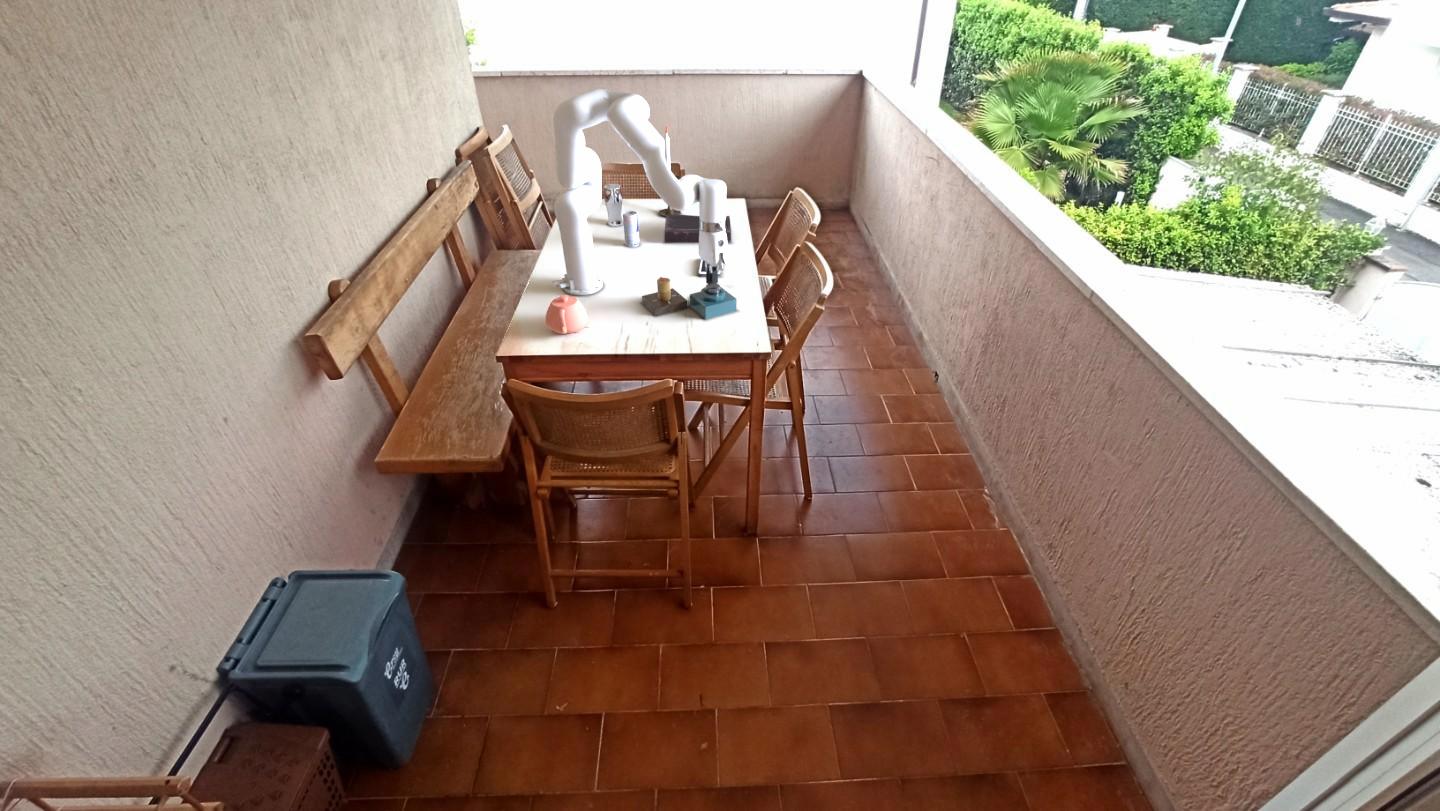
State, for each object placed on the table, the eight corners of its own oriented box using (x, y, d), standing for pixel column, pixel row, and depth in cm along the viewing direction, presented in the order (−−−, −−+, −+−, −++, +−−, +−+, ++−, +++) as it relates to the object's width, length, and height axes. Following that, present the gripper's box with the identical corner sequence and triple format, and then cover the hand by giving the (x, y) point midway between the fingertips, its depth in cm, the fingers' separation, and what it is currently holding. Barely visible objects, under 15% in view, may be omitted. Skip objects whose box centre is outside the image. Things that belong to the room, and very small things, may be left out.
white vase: (604, 222, 260) (600, 184, 251) (621, 219, 262) (617, 182, 253) (609, 228, 255) (606, 190, 246) (626, 225, 257) (623, 187, 248)
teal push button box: (705, 319, 195) (705, 301, 191) (689, 306, 202) (689, 288, 198) (736, 311, 199) (736, 293, 196) (719, 298, 206) (720, 281, 202)
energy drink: (640, 242, 243) (638, 211, 236) (638, 247, 239) (635, 216, 232) (627, 241, 244) (624, 210, 237) (623, 247, 239) (621, 215, 232)
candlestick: (672, 207, 274) (669, 120, 253) (688, 214, 267) (685, 125, 246) (651, 213, 268) (646, 124, 248) (666, 220, 261) (662, 129, 241)
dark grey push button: (710, 296, 195) (710, 290, 193) (703, 291, 198) (703, 285, 196) (722, 293, 196) (722, 287, 195) (715, 288, 199) (715, 281, 198)
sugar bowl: (591, 317, 195) (587, 286, 189) (585, 340, 184) (581, 308, 178) (551, 317, 195) (546, 287, 189) (542, 341, 184) (536, 309, 178)
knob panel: (656, 316, 196) (655, 308, 195) (642, 303, 203) (641, 295, 202) (687, 307, 201) (687, 300, 199) (673, 295, 208) (672, 287, 206)
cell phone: (698, 276, 219) (698, 273, 218) (701, 258, 231) (701, 256, 230) (720, 277, 218) (720, 274, 218) (722, 259, 230) (722, 256, 230)
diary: (731, 244, 242) (731, 231, 239) (664, 244, 241) (664, 231, 238) (729, 226, 257) (729, 213, 254) (666, 226, 256) (666, 214, 254)
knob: (673, 299, 200) (672, 280, 196) (661, 302, 198) (660, 283, 194) (667, 294, 203) (666, 275, 199) (655, 297, 201) (654, 278, 197)
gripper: (737, 231, 181) (735, 290, 192) (710, 214, 191) (710, 271, 202) (714, 235, 178) (713, 295, 189) (688, 218, 188) (689, 276, 199)
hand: (712, 283), depth 195 cm, fingers closed
